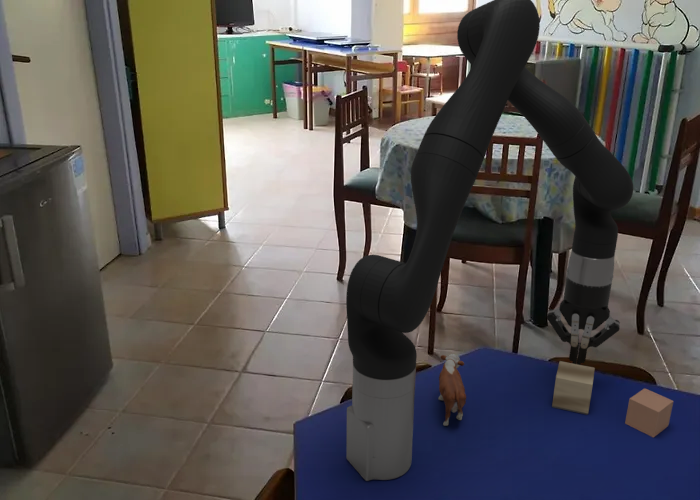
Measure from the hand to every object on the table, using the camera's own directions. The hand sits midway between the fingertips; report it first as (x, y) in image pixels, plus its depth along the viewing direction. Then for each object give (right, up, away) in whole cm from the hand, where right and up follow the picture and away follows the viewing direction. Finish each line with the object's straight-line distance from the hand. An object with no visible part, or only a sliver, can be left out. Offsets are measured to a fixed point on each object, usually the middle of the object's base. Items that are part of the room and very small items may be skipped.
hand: (576, 362), depth 123 cm
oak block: (-2, -6, -4) cm, 8 cm away
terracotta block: (+8, -9, -10) cm, 16 cm away
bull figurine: (-24, -7, -6) cm, 26 cm away
